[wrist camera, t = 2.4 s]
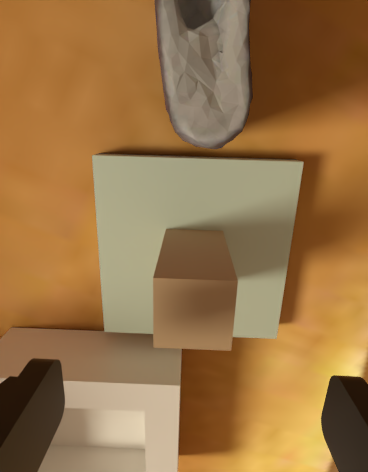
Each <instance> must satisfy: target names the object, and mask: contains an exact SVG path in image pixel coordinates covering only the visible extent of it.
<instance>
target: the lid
mask: <svg viewBox="0 0 368 472" xmlns="http://www.w3.org/2000/svg"><path fill="white" fill-rule="evenodd" d="M92 161H93V176H94V190H95V204H96V219H97V233H98V248H99V262H100V276H101V291H102V305H103V319H104V332H119V333H144V334H153V348H175V349H200V350H224V351H231V348H232V338H233V337H244V338H269V339H276V338H277V332H278V326H279V319H280V313H281V306H282V300H283V293H284V287H285V280H286V274H287V267H288V261H289V254H290V248H291V241H292V235H293V228H294V222H295V215H296V209H297V203H298V196H299V190H300V183H301V177H302V170H303V164H304V162H303V161H299V160H281V159H249V158H217V157H185V156H153V155H121V154H95V155H92Z"/></svg>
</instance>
